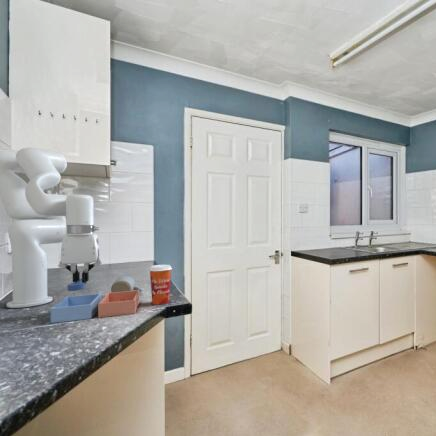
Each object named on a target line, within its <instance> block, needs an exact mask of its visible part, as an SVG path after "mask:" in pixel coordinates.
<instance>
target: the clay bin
mask: <svg viewBox="0 0 436 436" xmlns="http://www.w3.org/2000/svg"><path fill="white" fill-rule="evenodd" d="M140 298H141V295H140V290H133V291H123V292H107V293H106V294H105V296H103V297H102V300H101V301H100V303H99V304H98V311H97V316H98V319H99V318H108V317H115V316H123V315H124V316H125V315H134V314H136V312H137V310H138V307H139V304H140V302H141V301H140V300H141V299H140ZM121 299H125V301H120V300H121Z"/></svg>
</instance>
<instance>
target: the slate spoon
mask: <svg viewBox="0 0 436 436" xmlns="http://www.w3.org/2000/svg"><path fill="white" fill-rule="evenodd" d="M66 288H67V291H68V292H76V291H81V290H85V288H86V284H85V283H84V282H82V277H81V278H80V280H78V281H77V282H76V283H75V282H71V283H68V284H67V287H66Z"/></svg>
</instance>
